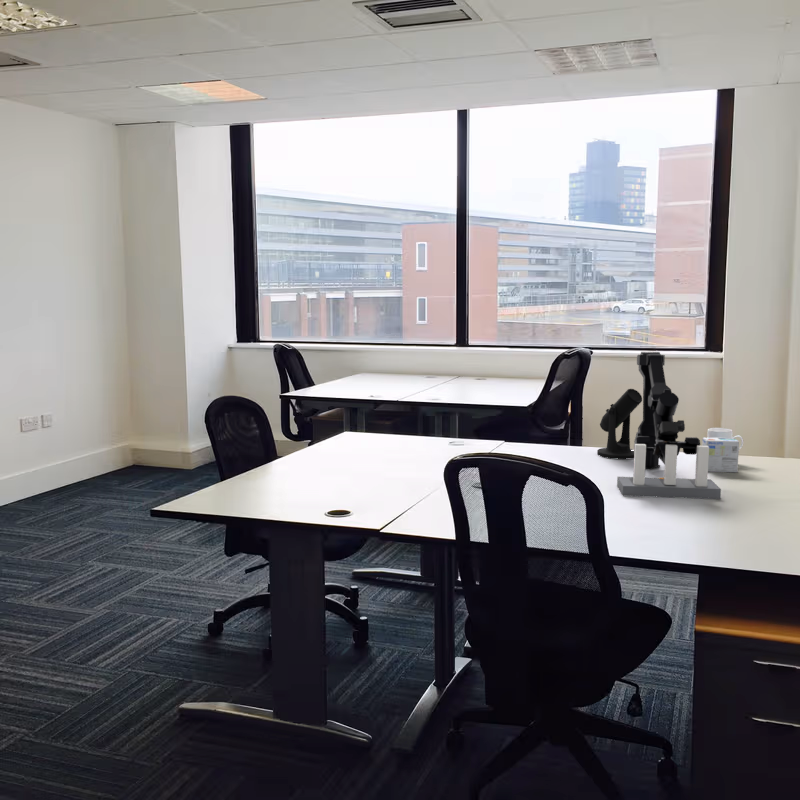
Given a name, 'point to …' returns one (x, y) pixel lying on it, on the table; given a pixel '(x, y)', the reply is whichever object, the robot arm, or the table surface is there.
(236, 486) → the table surface
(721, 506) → the table surface
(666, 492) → the three-peg stand
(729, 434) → the mug
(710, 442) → the light bulb box
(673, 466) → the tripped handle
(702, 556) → the table surface
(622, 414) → the microphone
